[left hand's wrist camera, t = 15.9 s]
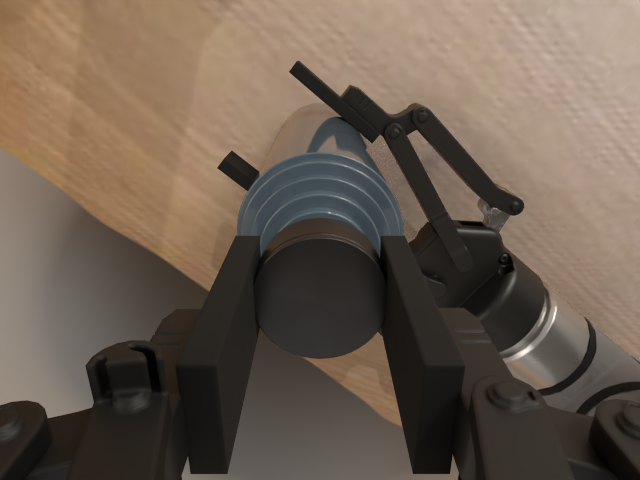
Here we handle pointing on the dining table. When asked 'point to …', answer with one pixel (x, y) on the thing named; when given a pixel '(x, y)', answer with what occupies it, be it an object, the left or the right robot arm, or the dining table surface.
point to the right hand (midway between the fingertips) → (258, 114)
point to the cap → (320, 289)
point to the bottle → (319, 181)
